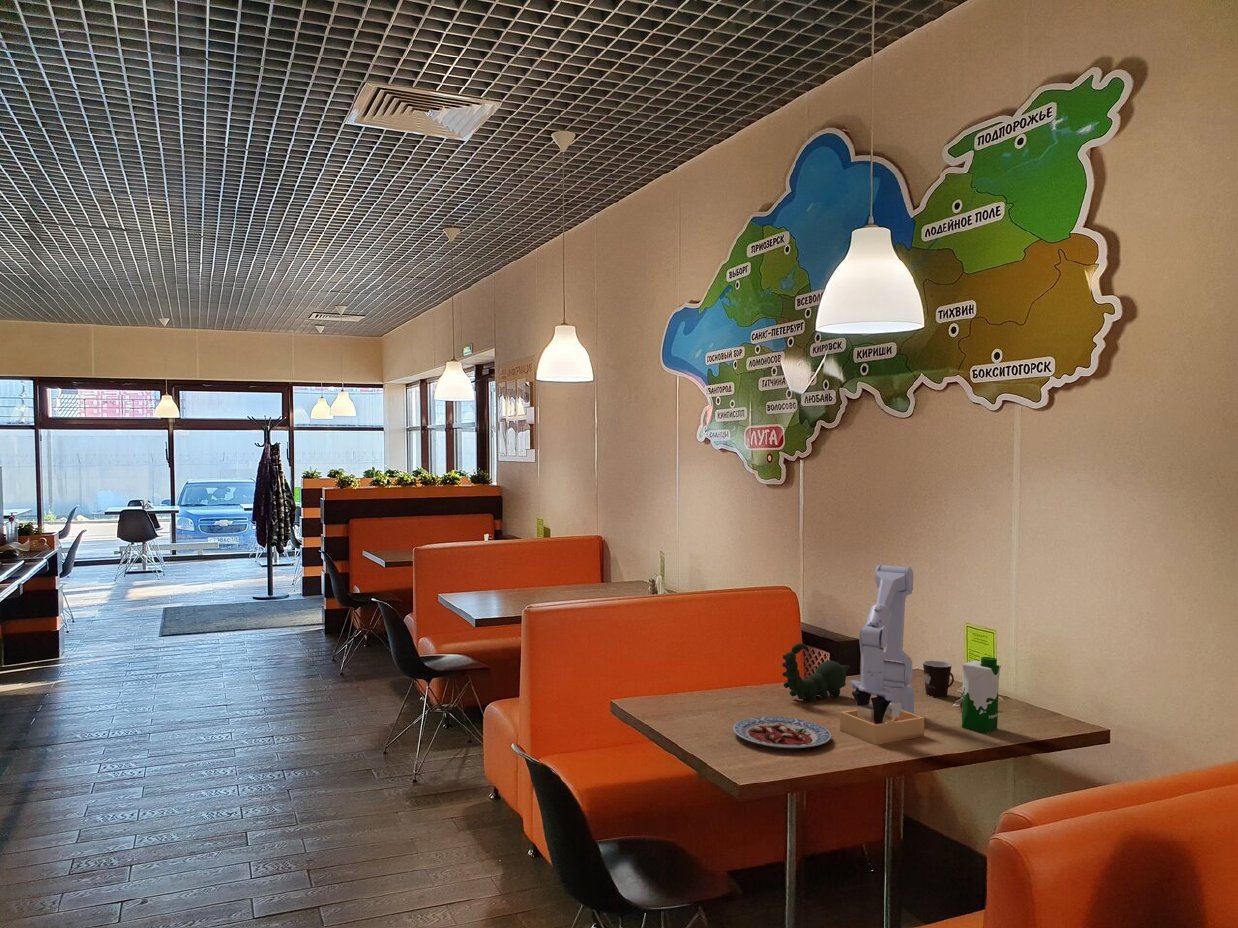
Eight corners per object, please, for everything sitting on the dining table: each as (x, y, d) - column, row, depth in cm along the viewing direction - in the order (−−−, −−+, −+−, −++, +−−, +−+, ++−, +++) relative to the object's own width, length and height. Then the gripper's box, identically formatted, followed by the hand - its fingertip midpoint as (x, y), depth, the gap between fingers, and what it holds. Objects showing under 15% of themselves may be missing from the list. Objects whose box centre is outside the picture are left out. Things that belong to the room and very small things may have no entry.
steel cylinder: (893, 724, 253) (893, 699, 253) (905, 729, 248) (905, 704, 248) (878, 726, 251) (878, 701, 251) (889, 731, 247) (890, 705, 247)
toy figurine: (797, 711, 273) (860, 695, 284) (794, 649, 272) (858, 635, 283) (778, 703, 281) (840, 687, 293) (775, 643, 280) (837, 630, 292)
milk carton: (988, 734, 248) (990, 662, 248) (956, 727, 255) (958, 656, 254) (1002, 728, 254) (1003, 657, 254) (970, 721, 261) (972, 652, 260)
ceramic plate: (755, 757, 226) (756, 746, 226) (718, 726, 251) (719, 716, 251) (849, 751, 233) (849, 740, 233) (803, 722, 258) (804, 711, 258)
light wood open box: (887, 722, 258) (887, 704, 258) (923, 735, 246) (924, 717, 246) (839, 729, 250) (840, 711, 250) (875, 744, 238) (875, 725, 238)
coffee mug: (919, 690, 294) (920, 659, 293) (947, 692, 292) (948, 661, 292) (926, 700, 282) (927, 668, 282) (955, 702, 281) (956, 669, 281)
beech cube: (870, 722, 249) (871, 703, 249) (884, 727, 245) (884, 708, 245) (857, 724, 247) (857, 705, 247) (870, 729, 243) (870, 710, 243)
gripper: (842, 665, 250) (841, 714, 251) (880, 678, 238) (879, 729, 238) (861, 663, 254) (860, 711, 254) (900, 675, 241) (899, 726, 241)
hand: (870, 720), depth 246 cm, fingers closed on beech cube, 5 cm apart
